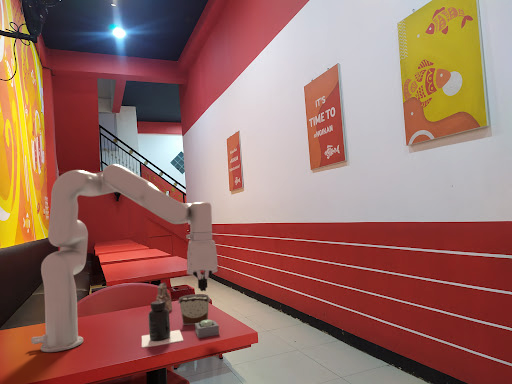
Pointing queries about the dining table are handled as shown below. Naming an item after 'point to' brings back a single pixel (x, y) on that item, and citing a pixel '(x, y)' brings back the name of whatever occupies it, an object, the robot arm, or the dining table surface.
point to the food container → (194, 308)
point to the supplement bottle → (159, 321)
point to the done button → (206, 323)
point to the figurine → (164, 296)
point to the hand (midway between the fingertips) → (202, 290)
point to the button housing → (207, 330)
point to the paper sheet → (174, 337)
